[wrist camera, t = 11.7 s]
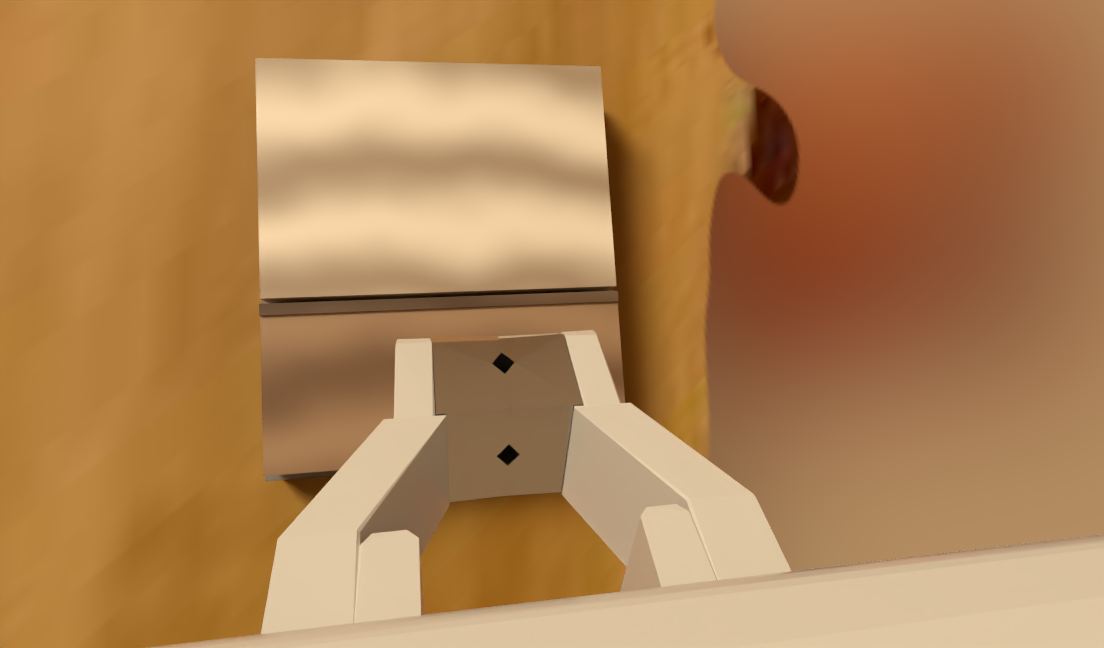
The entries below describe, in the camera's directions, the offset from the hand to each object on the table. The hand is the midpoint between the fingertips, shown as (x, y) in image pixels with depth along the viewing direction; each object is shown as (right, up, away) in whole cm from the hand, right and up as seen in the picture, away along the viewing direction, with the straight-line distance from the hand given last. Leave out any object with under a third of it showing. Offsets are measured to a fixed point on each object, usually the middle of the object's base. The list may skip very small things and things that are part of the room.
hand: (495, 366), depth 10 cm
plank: (-6, +9, +29) cm, 31 cm away
